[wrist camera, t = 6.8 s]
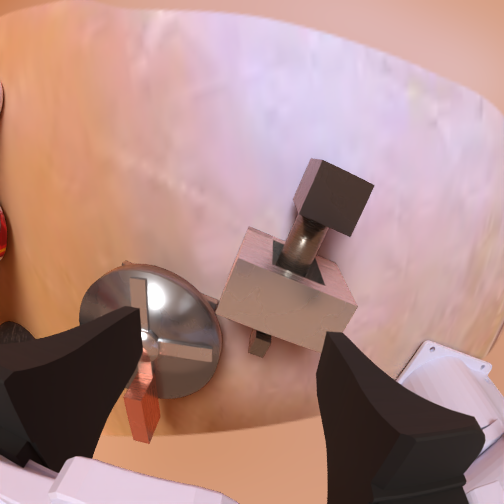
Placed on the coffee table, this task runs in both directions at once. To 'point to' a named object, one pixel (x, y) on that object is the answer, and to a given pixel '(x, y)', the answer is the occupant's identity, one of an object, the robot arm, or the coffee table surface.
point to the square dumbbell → (317, 222)
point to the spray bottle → (1, 96)
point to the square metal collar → (285, 294)
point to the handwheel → (159, 337)
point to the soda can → (2, 234)
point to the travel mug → (13, 333)
